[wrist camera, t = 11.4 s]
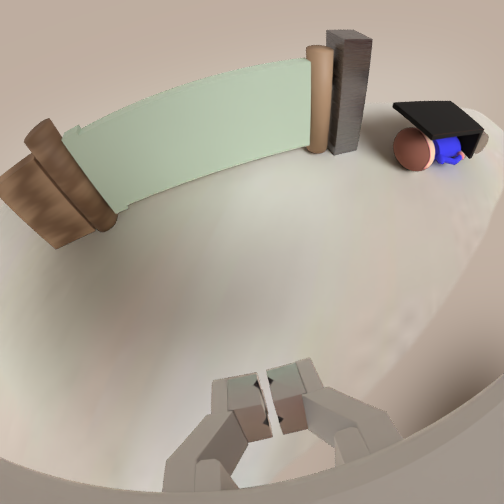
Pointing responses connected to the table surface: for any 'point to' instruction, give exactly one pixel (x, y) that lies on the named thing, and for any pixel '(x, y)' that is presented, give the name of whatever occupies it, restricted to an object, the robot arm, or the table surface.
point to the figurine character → (436, 134)
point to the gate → (207, 127)
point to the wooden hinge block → (54, 191)
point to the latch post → (347, 87)
